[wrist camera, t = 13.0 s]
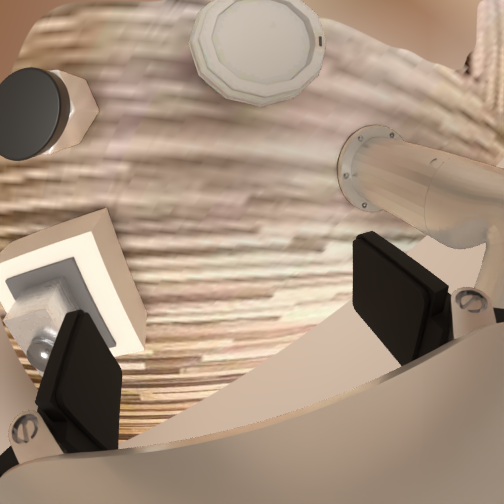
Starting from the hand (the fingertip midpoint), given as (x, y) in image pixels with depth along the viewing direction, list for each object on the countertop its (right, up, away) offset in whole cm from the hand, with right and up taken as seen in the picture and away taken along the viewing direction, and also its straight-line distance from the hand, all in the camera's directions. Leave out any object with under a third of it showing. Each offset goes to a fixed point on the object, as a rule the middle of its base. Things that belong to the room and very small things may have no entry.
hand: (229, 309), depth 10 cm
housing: (-21, -5, +19) cm, 29 cm away
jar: (-21, +18, +18) cm, 33 cm away
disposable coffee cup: (-2, +23, +21) cm, 31 cm away
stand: (-23, -2, +27) cm, 36 cm away
